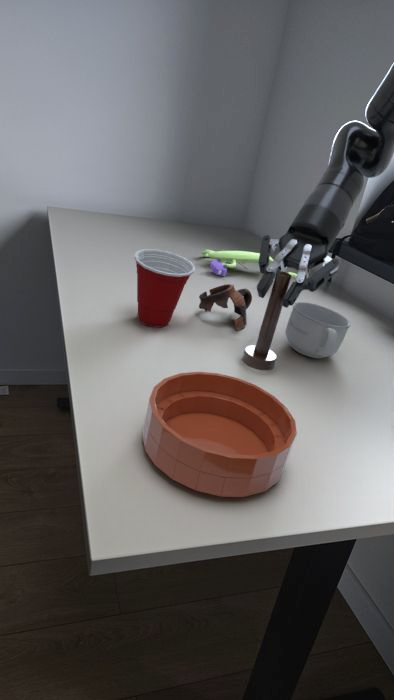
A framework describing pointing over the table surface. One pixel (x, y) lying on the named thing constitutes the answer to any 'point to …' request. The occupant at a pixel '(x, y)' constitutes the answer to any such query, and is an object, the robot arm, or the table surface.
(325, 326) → the teacup
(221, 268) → the figurine
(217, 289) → the brown curved piece
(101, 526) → the table surface
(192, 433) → the bowl
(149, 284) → the plastic cup
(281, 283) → the brown rod with base
